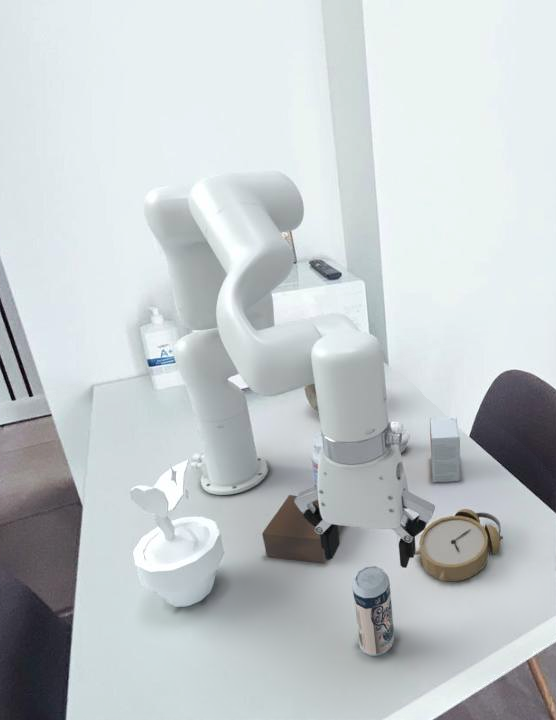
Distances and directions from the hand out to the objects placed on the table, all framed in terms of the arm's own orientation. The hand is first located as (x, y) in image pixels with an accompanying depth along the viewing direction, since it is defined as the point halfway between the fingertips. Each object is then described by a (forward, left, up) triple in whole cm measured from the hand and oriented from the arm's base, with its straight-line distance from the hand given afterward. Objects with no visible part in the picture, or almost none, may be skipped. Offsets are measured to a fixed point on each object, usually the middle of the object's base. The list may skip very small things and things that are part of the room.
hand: (369, 555), depth 69 cm
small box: (+2, +41, -16) cm, 44 cm away
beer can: (0, 0, -16) cm, 16 cm away
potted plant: (-31, +5, -16) cm, 36 cm away
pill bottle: (-19, +32, -16) cm, 41 cm away
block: (-18, +18, -16) cm, 30 cm away
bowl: (-29, +63, -16) cm, 71 cm away
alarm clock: (+9, +19, -16) cm, 27 cm away
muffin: (-10, +47, -16) cm, 51 cm away
